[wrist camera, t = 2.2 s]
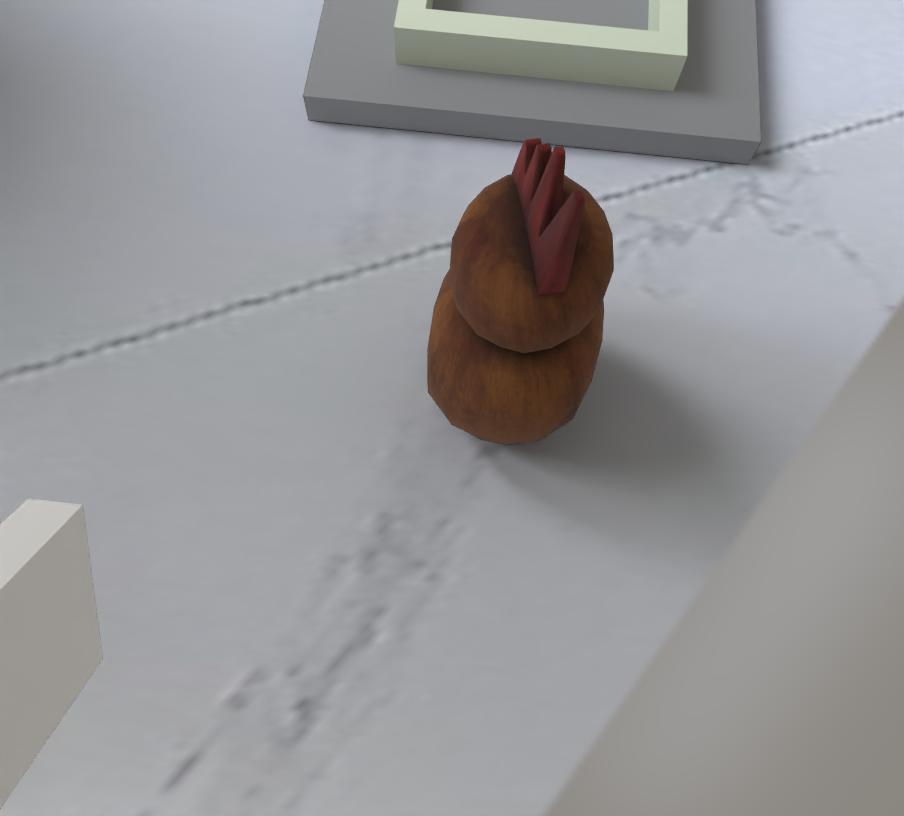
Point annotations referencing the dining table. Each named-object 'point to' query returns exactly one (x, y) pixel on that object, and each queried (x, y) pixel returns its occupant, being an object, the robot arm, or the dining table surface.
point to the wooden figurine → (521, 303)
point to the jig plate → (546, 72)
